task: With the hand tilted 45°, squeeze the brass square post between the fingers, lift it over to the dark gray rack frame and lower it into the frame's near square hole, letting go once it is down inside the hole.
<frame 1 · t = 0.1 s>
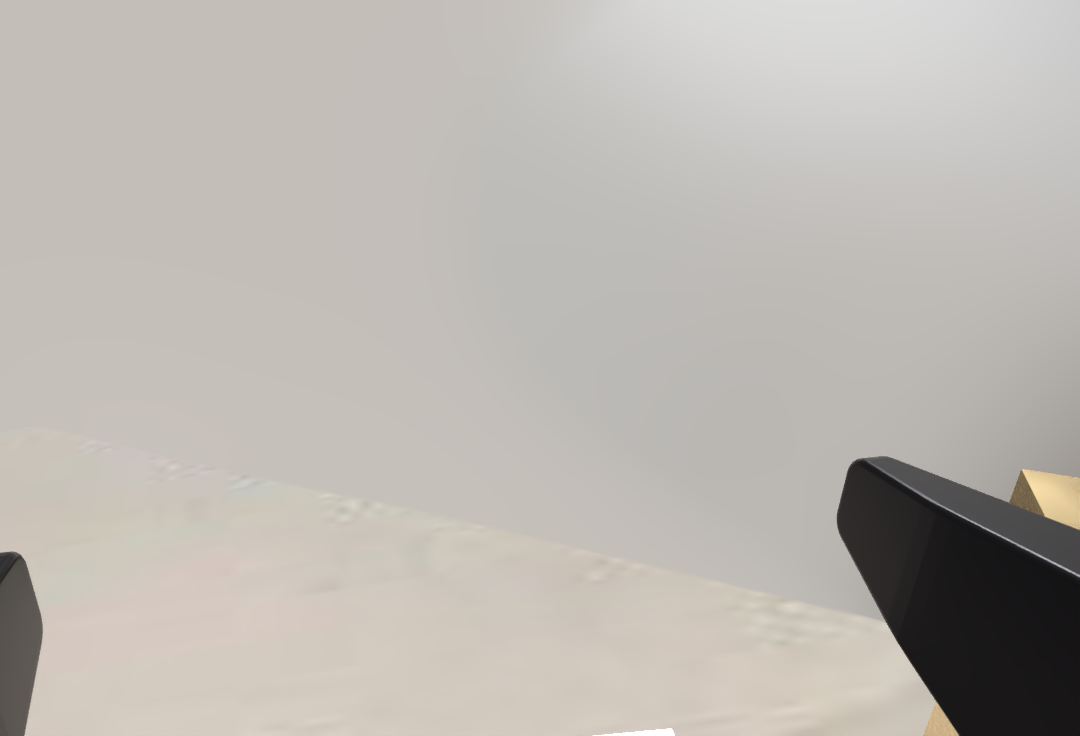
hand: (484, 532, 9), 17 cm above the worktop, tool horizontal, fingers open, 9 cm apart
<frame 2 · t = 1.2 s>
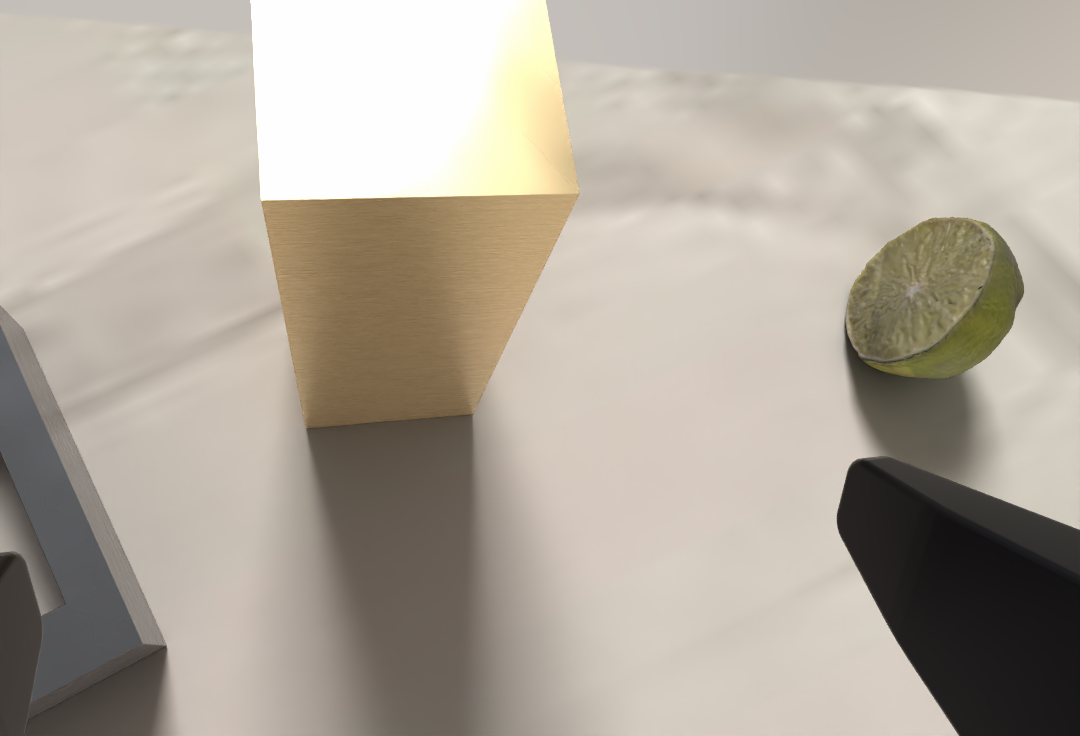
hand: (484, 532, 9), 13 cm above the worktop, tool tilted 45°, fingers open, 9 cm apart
lime: (882, 329, 28), on the worktop
brass post: (383, 344, 24), on the worktop
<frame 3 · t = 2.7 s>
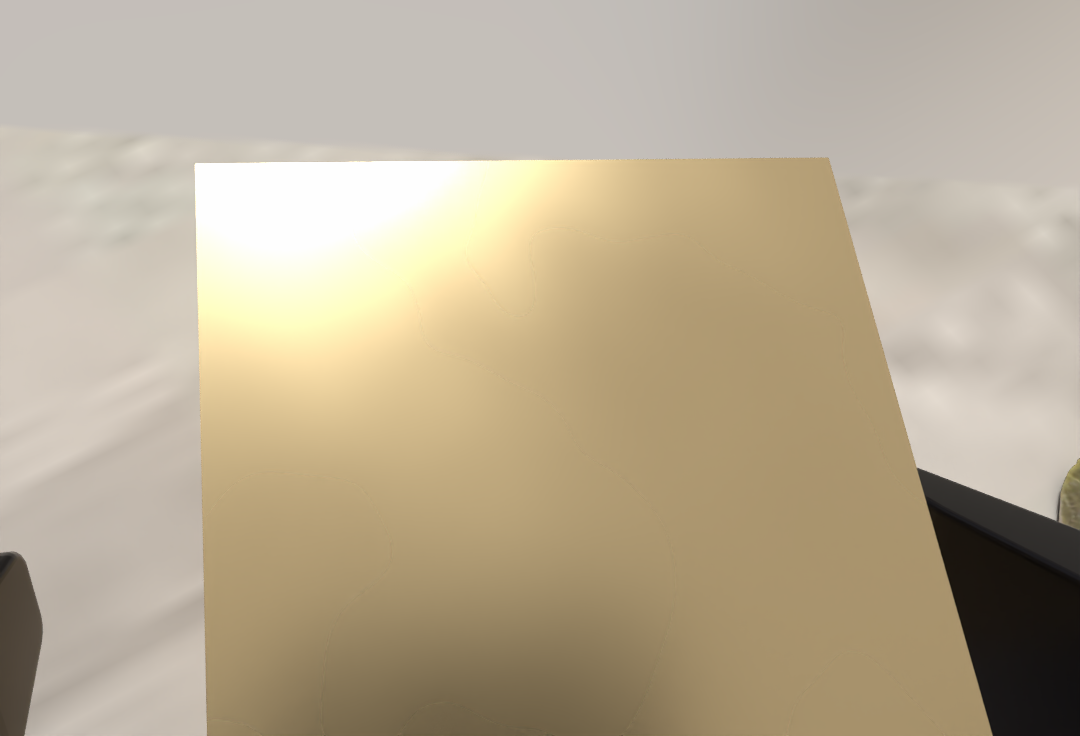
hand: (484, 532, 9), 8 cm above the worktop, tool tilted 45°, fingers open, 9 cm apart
brass post: (428, 607, 16), on the worktop
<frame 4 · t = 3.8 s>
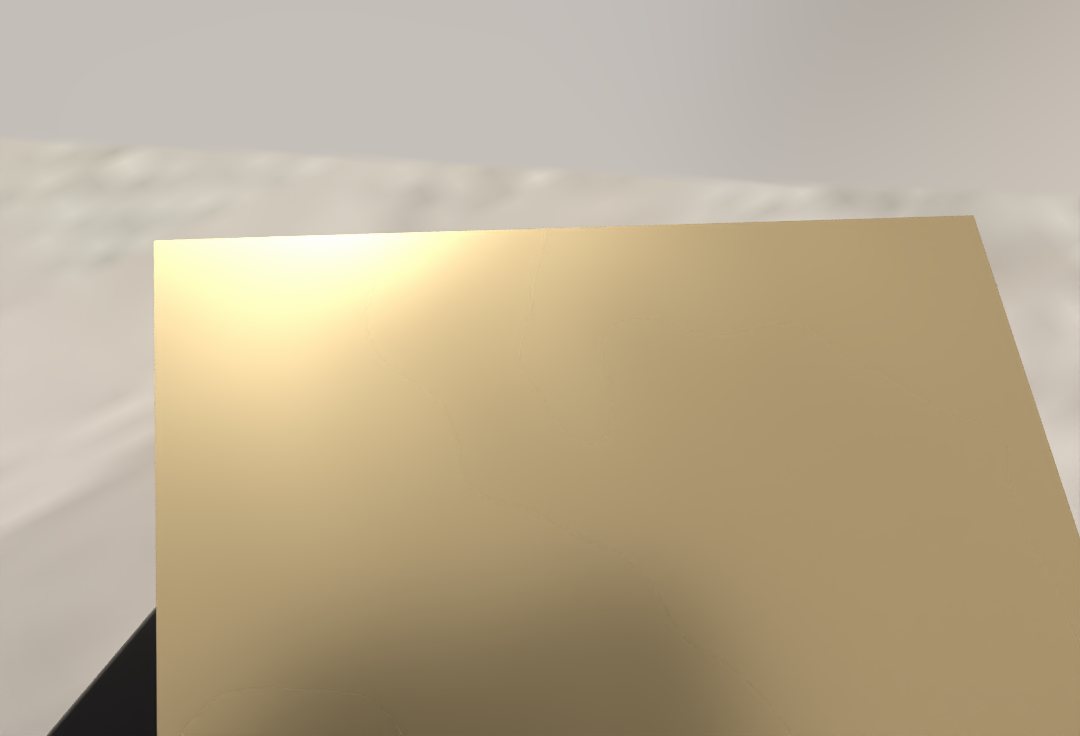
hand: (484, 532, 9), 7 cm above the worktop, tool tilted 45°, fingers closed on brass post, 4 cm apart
brass post: (439, 664, 15), on the worktop, touching gripper
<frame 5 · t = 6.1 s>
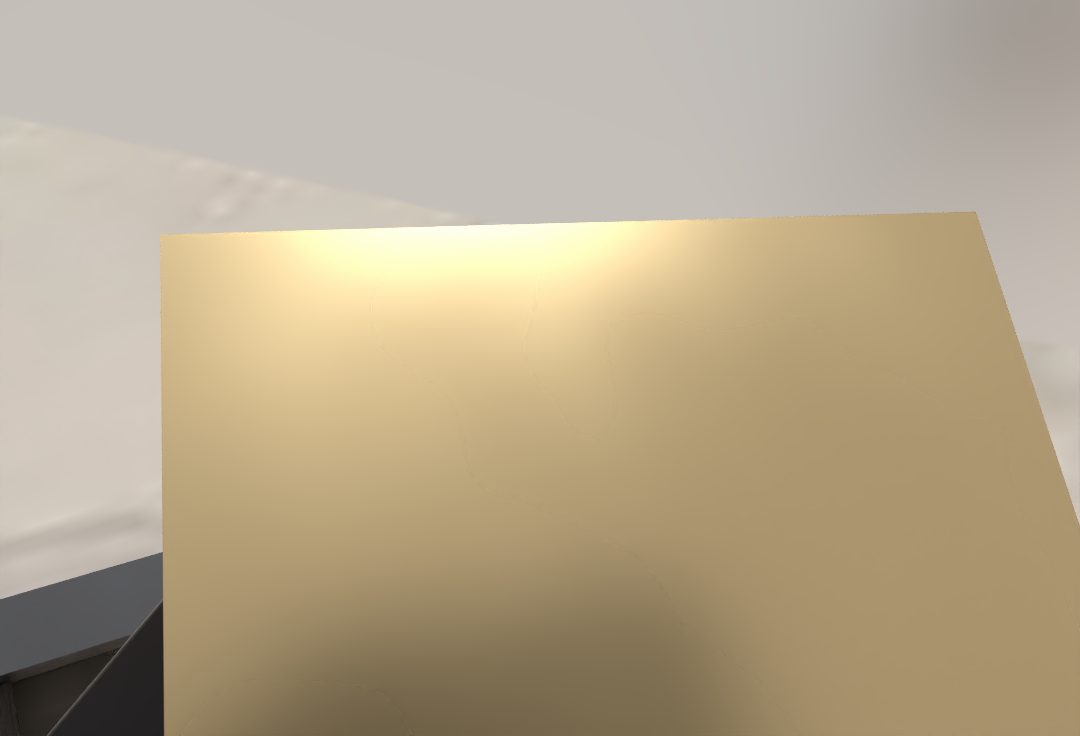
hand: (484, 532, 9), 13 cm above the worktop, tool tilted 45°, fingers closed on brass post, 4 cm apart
brass post: (440, 662, 15), point 7 cm above the worktop, touching gripper
when the fingers open (7 cm above the worktop, at t = 8.8 s): brass post stays where it is, resting in dark gray rack frame.
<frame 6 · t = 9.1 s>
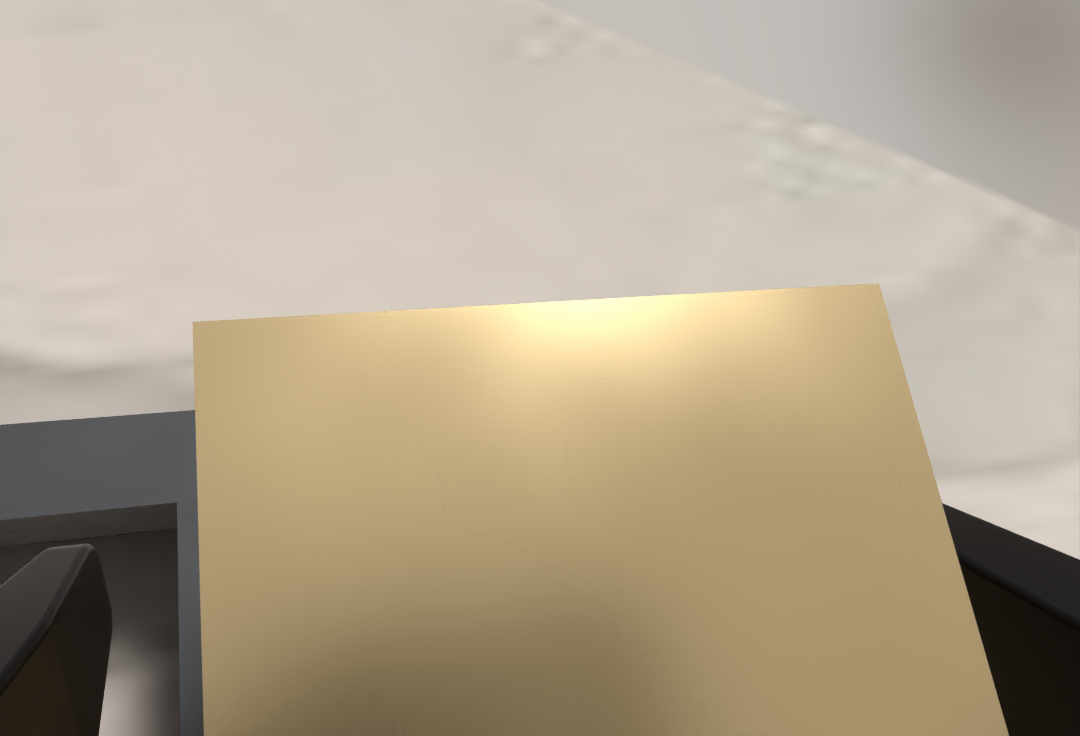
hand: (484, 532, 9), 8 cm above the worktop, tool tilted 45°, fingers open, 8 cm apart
dark gray rack frame: (236, 691, 15), on the worktop
brass post: (434, 662, 16), resting in dark gray rack frame
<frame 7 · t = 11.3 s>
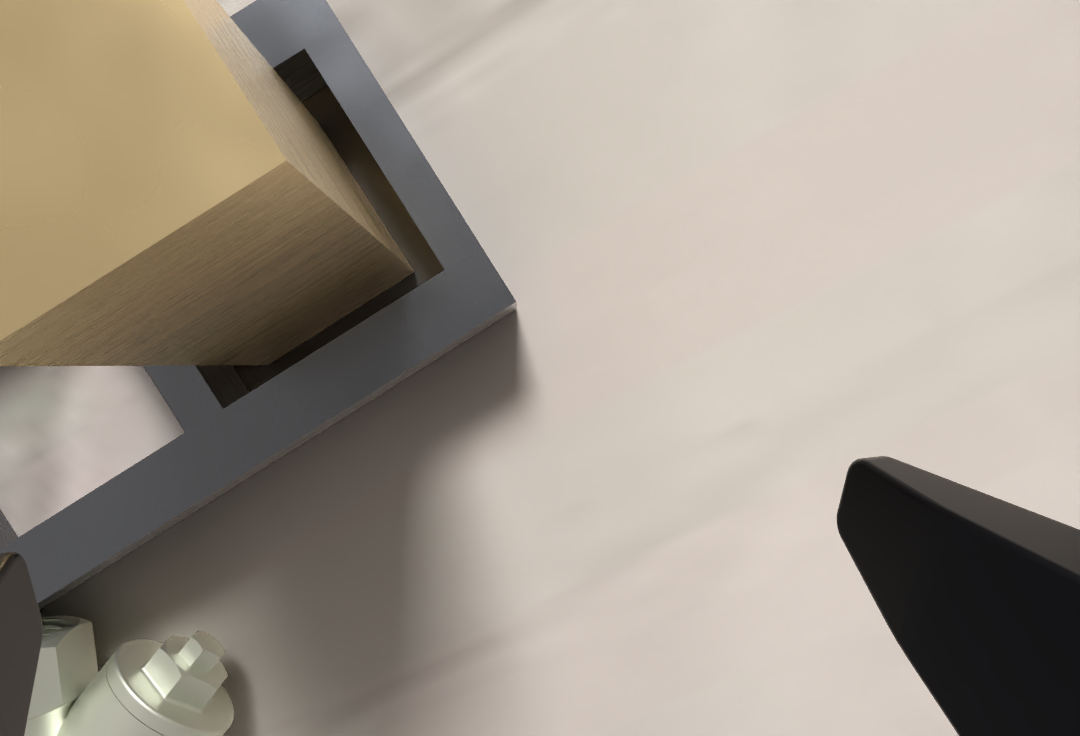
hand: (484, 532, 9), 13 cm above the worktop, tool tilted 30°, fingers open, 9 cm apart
dark gray rack frame: (177, 316, 22), on the worktop
brass post: (294, 245, 22), resting in dark gray rack frame
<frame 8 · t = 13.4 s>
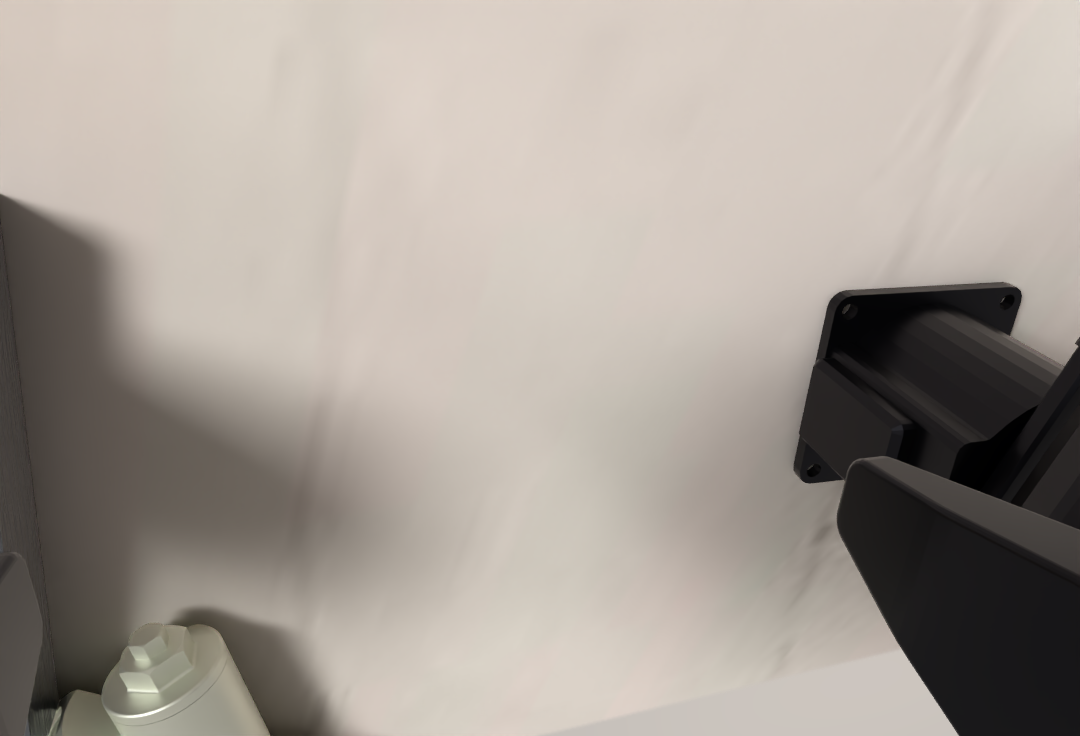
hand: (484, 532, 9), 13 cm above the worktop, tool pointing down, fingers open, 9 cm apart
pipe fitting: (213, 692, 26), on the worktop
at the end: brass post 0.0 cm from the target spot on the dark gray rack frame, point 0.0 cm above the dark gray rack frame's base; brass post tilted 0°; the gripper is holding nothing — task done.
